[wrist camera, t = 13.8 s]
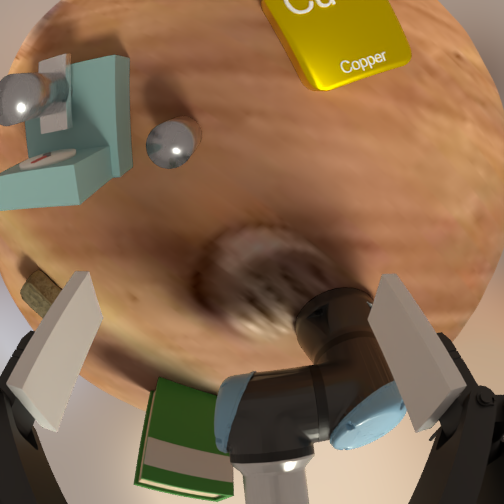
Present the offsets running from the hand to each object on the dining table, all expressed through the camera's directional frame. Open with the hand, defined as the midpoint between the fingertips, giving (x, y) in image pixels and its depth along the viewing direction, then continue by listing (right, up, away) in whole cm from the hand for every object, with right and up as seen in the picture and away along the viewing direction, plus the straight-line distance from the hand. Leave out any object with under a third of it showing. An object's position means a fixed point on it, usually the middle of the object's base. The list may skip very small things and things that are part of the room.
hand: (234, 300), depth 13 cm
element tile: (+11, +31, +17) cm, 37 cm away
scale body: (-22, +20, +21) cm, 36 cm away
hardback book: (-13, -31, +50) cm, 60 cm away
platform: (-22, +21, +14) cm, 33 cm away
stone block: (-36, -6, +35) cm, 51 cm away
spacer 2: (-8, +17, +23) cm, 30 cm away
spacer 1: (-21, +20, +12) cm, 31 cm away
